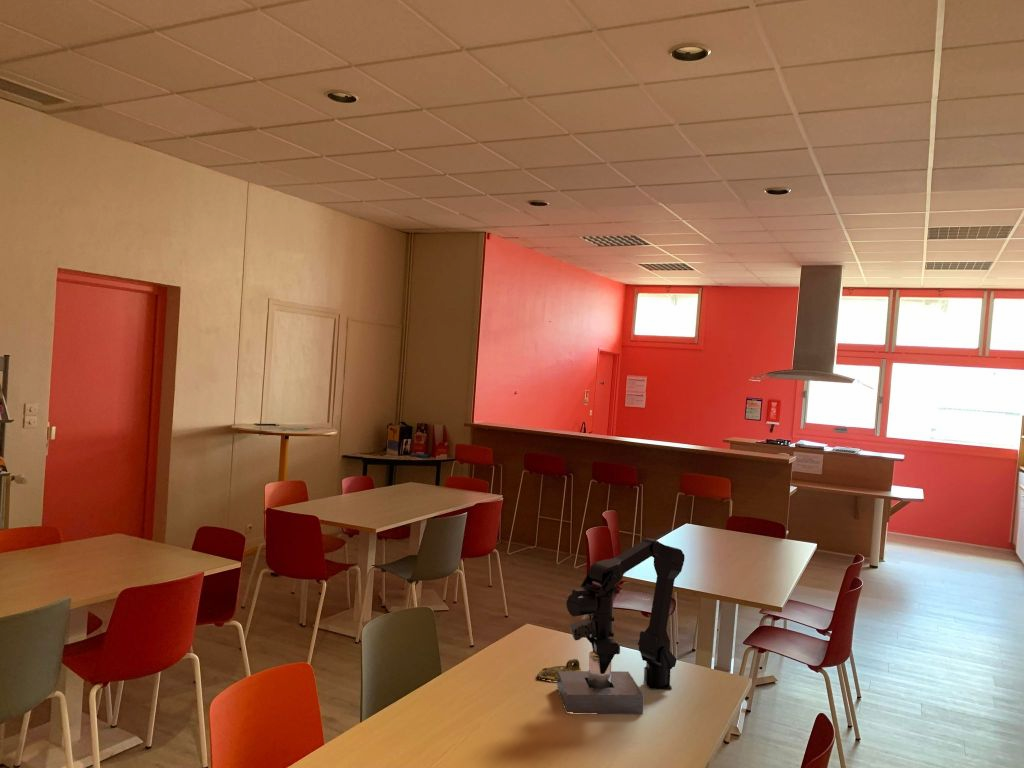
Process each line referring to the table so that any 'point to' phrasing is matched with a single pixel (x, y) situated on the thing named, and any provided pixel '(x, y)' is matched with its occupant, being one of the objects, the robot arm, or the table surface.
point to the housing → (600, 694)
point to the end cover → (598, 673)
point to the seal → (553, 672)
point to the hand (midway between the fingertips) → (599, 669)
